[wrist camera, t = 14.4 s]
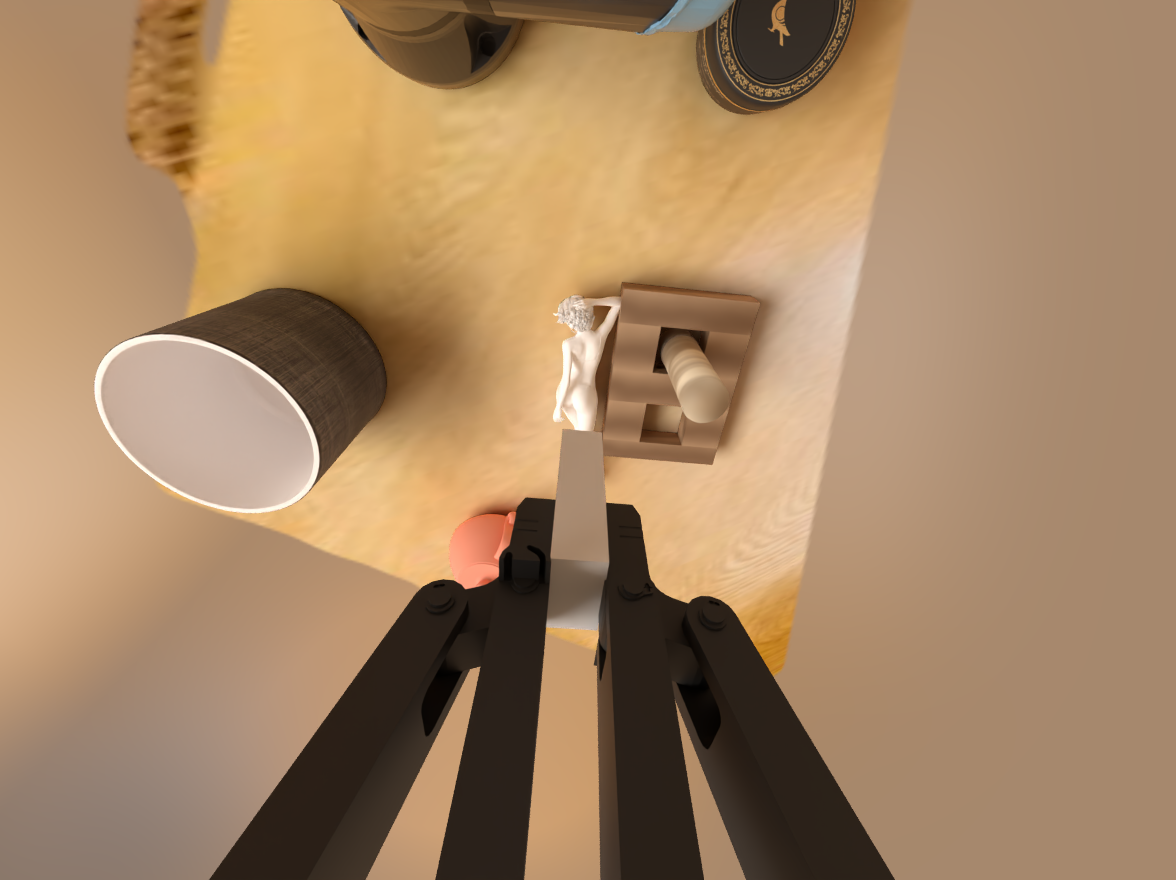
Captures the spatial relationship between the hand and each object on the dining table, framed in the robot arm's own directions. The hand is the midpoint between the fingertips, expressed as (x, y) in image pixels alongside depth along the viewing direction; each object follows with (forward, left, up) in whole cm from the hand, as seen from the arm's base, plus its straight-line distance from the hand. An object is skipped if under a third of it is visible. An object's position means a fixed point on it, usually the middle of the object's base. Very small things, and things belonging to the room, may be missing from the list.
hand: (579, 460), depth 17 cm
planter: (+13, -31, -35) cm, 48 cm away
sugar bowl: (+37, -9, -35) cm, 52 cm away
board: (+10, +11, -34) cm, 37 cm away
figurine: (+14, +2, -35) cm, 37 cm away
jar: (-20, +12, -35) cm, 42 cm away
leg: (+6, +11, -34) cm, 37 cm away
